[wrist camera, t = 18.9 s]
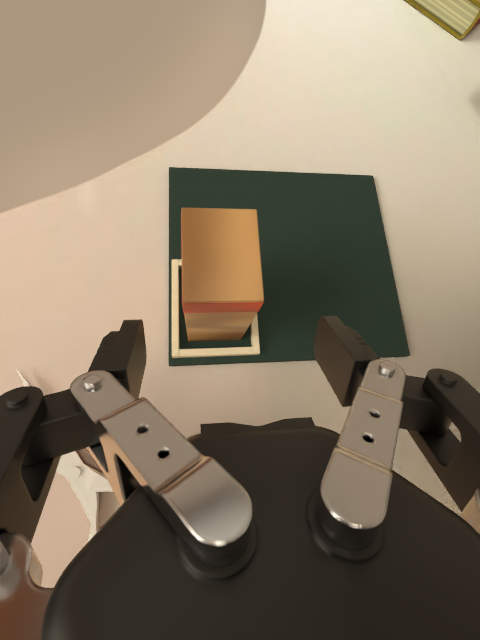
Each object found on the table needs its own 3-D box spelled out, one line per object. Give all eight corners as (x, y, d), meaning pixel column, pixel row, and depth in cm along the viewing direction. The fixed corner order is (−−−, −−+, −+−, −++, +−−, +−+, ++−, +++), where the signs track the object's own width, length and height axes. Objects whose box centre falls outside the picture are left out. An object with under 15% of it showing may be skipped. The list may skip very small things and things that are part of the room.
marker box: (237, 277, 30) (257, 208, 20) (241, 340, 28) (265, 301, 18) (186, 277, 29) (180, 206, 19) (187, 342, 27) (181, 302, 17)
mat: (370, 178, 36) (377, 170, 34) (406, 356, 30) (415, 354, 29) (169, 170, 33) (168, 161, 31) (169, 366, 27) (167, 364, 26)
